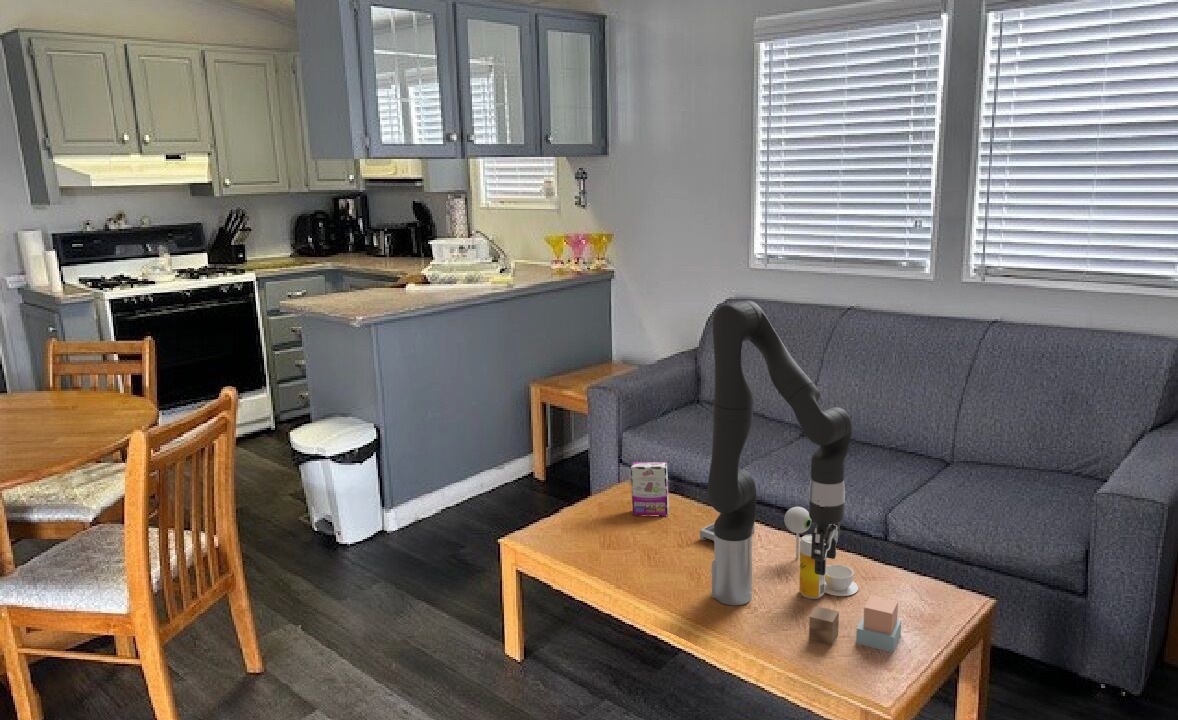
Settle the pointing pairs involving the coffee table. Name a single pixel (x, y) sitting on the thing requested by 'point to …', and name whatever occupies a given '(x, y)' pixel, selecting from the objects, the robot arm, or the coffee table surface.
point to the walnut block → (823, 625)
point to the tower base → (878, 637)
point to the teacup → (839, 581)
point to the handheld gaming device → (710, 532)
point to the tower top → (880, 614)
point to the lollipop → (797, 523)
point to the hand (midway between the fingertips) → (825, 565)
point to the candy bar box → (649, 488)
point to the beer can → (809, 571)
